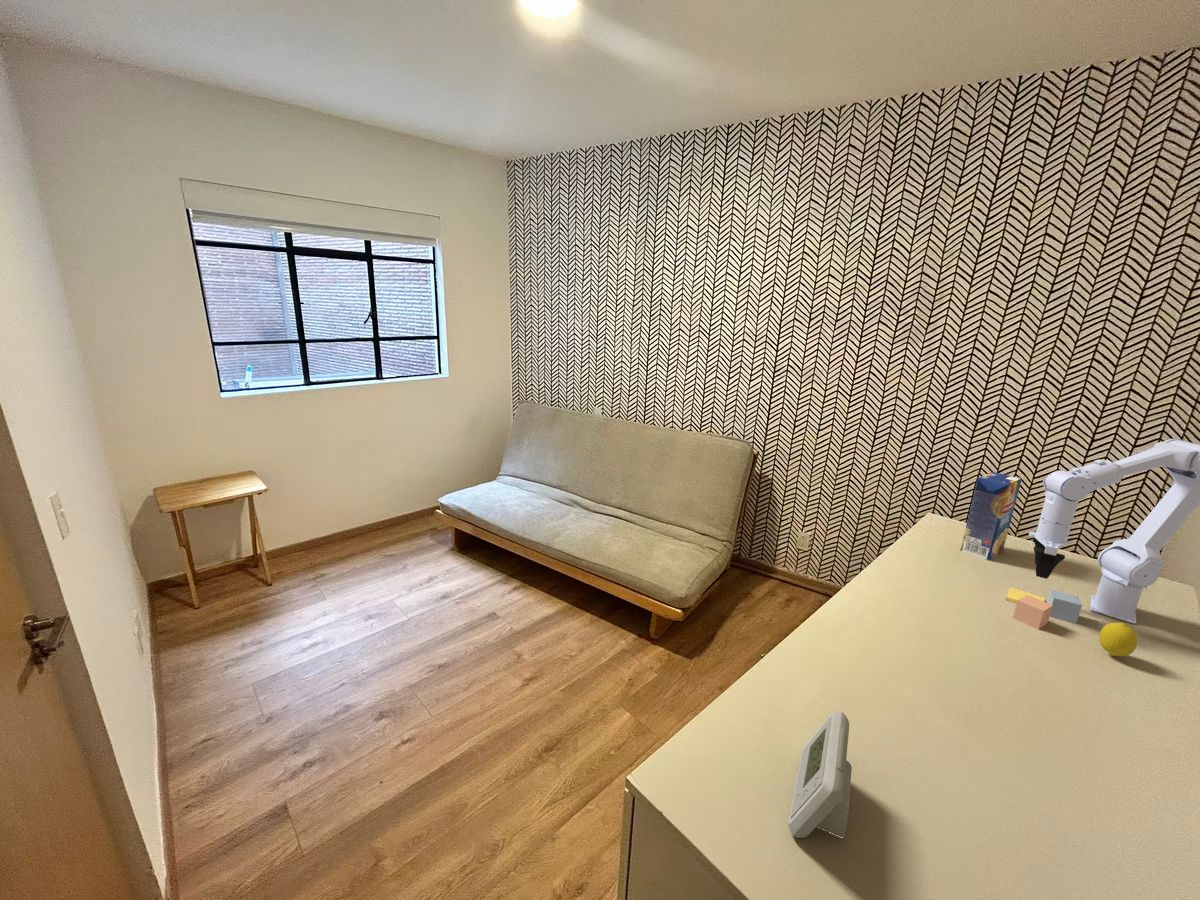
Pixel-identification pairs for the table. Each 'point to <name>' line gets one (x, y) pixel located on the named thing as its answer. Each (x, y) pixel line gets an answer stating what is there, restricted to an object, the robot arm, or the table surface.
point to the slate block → (1064, 606)
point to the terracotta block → (1032, 612)
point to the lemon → (1118, 639)
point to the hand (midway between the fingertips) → (1040, 571)
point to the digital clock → (823, 781)
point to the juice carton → (990, 515)
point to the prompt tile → (1020, 595)
